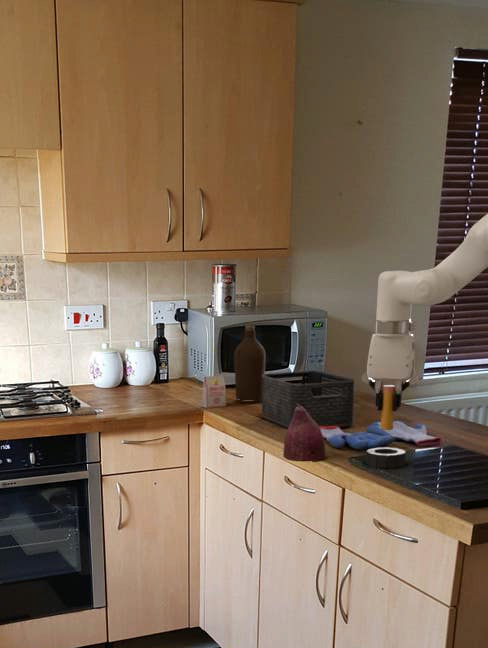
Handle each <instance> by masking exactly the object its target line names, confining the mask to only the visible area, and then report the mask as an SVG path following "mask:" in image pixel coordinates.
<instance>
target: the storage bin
mask: <svg viewBox="0 0 488 648" xmlns="http://www.w3.org/2000/svg"><path fill="white" fill-rule="evenodd" d="M288 378H301V381H300V382H299V383H290V382H287V381H284V380H281V379H288ZM354 397H355V379H354V378H352V377H347V376H342V375H338V374H335V373H331V372H325V371H321V370H304V371H303V370H302V371H289V372H274V373H265V374H263V375H262V402H261V404H262V405H261V406H262V407H261V412H262V413H261V418H263V419H264V420H267V421H269V422H272V423H275V424H277V425H279V426H282V427H284V428H286V429H288V428H289V426H290V423H291V421H292V418H293V416H294V411H295V408H296V407H297V404H298V405H300V406H302V407H303V408H304V409H305V410H306V411H307V413H308V414H309V415H310V417H311V418H312V419H313V420H314V421H315V422H316V423H317V425H318V426H319V427H321V426H322V427H332V426H337V427H339V428H346V427H351V426H353V425H354V408H355V407H354V406H355V405H354V403H355V402H354V400H355V398H354Z"/></svg>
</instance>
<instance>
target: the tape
mask: <svg viewBox="0 0 488 648" xmlns="http://www.w3.org/2000/svg"><path fill="white" fill-rule="evenodd" d="M365 452H366V453H365V454H366V455H365V464H366V466H369V467H373V468H378V469H397V468H401V467H404V466H405V465H406V458H407V457H406V455H407V453H406V452H407V451H406V450H404V449H402V448H397V447H388V446H386V447H378V448H372V449H366V451H365Z"/></svg>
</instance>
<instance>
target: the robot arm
mask: <svg viewBox="0 0 488 648" xmlns="http://www.w3.org/2000/svg"><path fill="white" fill-rule="evenodd" d="M487 268H488V213H487V214H485V215H484V216H483V217H481V219H479V220H478V221H477V222H476V223H474V224H473V225H472V226H471V228H470V229H469V230H468V232H467V234H466V236H465V238H464V240H463V241H462V243H461V244H460V245H459V246H458V247H457V248H456V249H455V250H453V252H452V253H450V255H448V256H447V257H446V258H445V259H443V260H441V262H440V263H438V264H437V265H436V266H435V267H433V268H430V269H423V270H417V271H408V270H386V271H383V272H381V273H380V274H379V276H378V281H377V295H376V296H377V300H376V316H375V333H373V334H371V335H372V336H371V340H370V344H369V349H368V355H367V356H368V357H367V362H366V363H367V364H366V369H365V371H364V372H363V374H362V376H361V377H360V380H361V381H362V382H363V383H365V384H367V385H368V386H369V387H370V388H371V389H372V390H373V391H374V393H375V407H377V411H382V396H383V386H384V381H385V380H386V381H395V386H396V387H395V394H394V396H393V411H394V412H397V411H398V410H399V408H401V407H402V396H403V395H402V394H403V393H404V391H405V390H406V389H408V388H409V387H410V386H413V385H415V384H417V383H419V381H420V379H419V377H418V374H417V371H416V369H415V365H416V364H415V362H416V361H415V360H416V358H415V357H416V356H415V355H416V352H415V347H416V346H415V339H414V334H412V333H411V332H412V331H413V330H417V327H418V323H414V322H412V317H411V316H412V306H419V307H430V306H434V305H437V304H441V303H443V302H446V301H447V300H449V299H450V298H452V297H453V296H454V295H456V293H458V292H459V291H460V290H462V289H463V288H464V287H465V286H466V285H469V283H470V282H472V281H473V280H474V279H475V278H477V276H479V275H480V274H481V273H483V271H485V270H486V269H487ZM404 381H405V382H404Z"/></svg>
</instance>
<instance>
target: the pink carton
mask: <svg viewBox="0 0 488 648" xmlns="http://www.w3.org/2000/svg"><path fill="white" fill-rule="evenodd" d="M226 391H227V389H226V383H225V376H224V375H210V376H203V384H202V407H203V408H205V409H212V408H225V407H227V405H226V404H227V400H226V398H227V397H226V396H227V395H226V394H227V393H226ZM203 403H204V404H203ZM222 403H226V404H222ZM205 404H206V405H205ZM209 404H214V405H209Z"/></svg>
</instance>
